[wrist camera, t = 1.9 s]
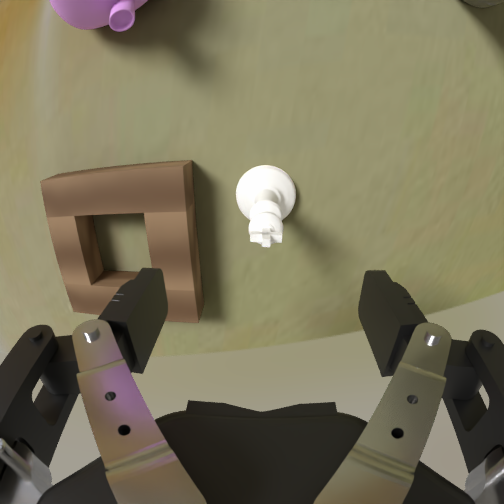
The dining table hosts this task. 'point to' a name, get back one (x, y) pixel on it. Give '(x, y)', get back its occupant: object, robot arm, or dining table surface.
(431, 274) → the dining table surface
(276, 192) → the chess piece
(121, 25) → the teapot
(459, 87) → the dining table surface
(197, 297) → the socket block
